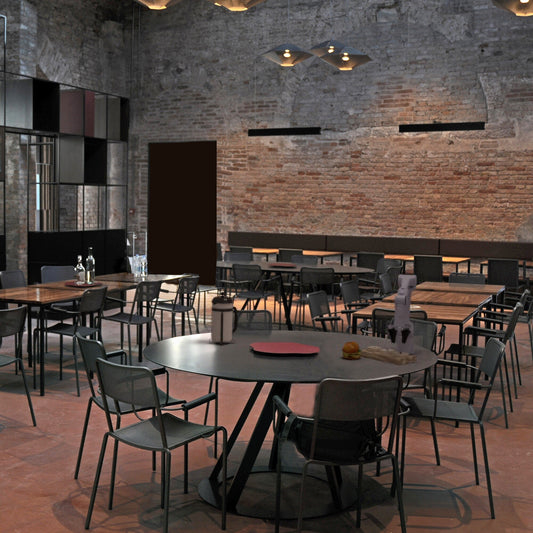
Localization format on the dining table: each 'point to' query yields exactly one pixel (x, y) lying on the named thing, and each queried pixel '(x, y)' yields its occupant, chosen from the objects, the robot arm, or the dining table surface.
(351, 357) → the cheeseburger
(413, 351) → the robot arm
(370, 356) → the tile board
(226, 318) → the coffee press
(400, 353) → the three dot tile
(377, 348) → the one dot tile
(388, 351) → the two dot tile
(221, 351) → the dining table surface
